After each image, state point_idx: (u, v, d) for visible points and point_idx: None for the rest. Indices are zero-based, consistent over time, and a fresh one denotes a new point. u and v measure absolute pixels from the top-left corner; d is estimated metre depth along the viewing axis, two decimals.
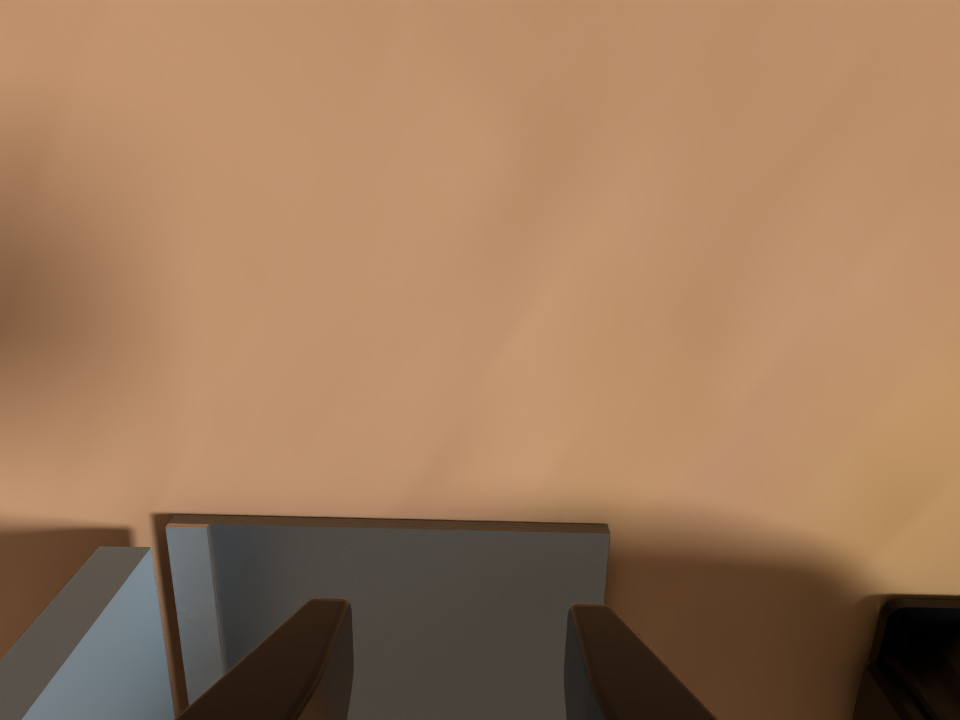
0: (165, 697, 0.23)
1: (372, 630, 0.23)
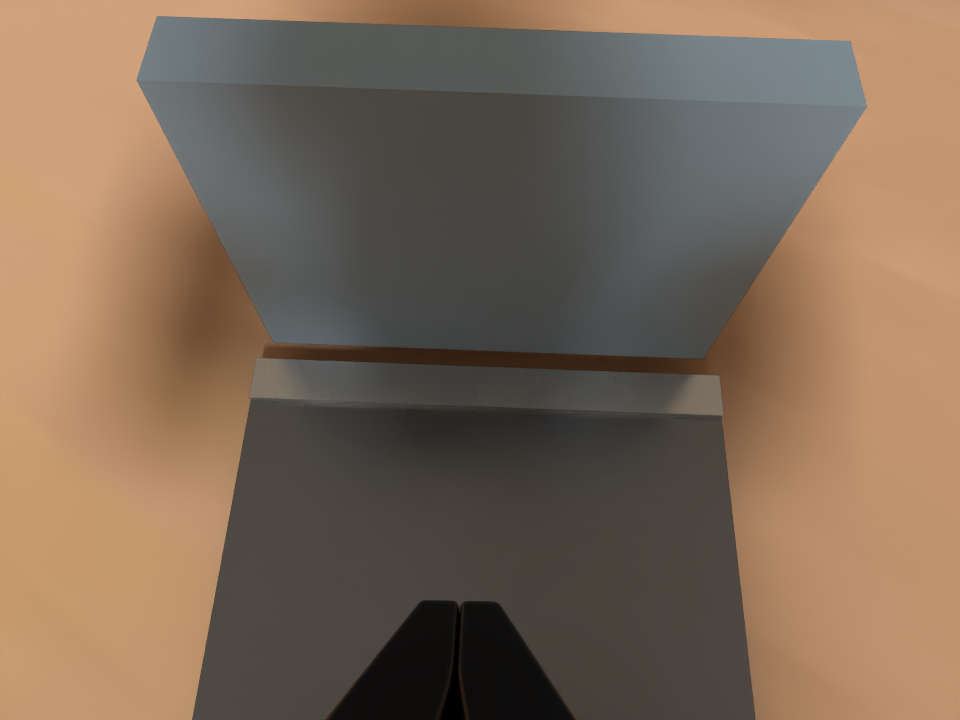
0: (521, 345, 0.20)
1: (594, 590, 0.19)
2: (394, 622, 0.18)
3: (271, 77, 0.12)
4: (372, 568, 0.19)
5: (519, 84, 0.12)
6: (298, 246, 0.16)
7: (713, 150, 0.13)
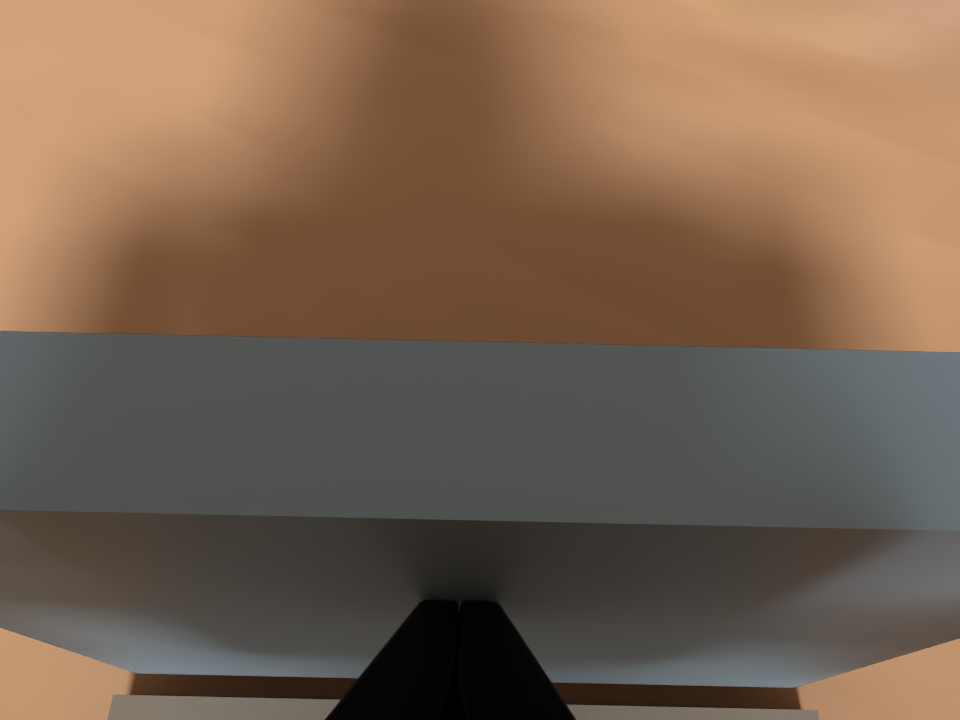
0: None
1: None
2: None
3: None
4: None
5: (500, 494, 0.05)
6: (123, 627, 0.09)
7: (908, 572, 0.06)
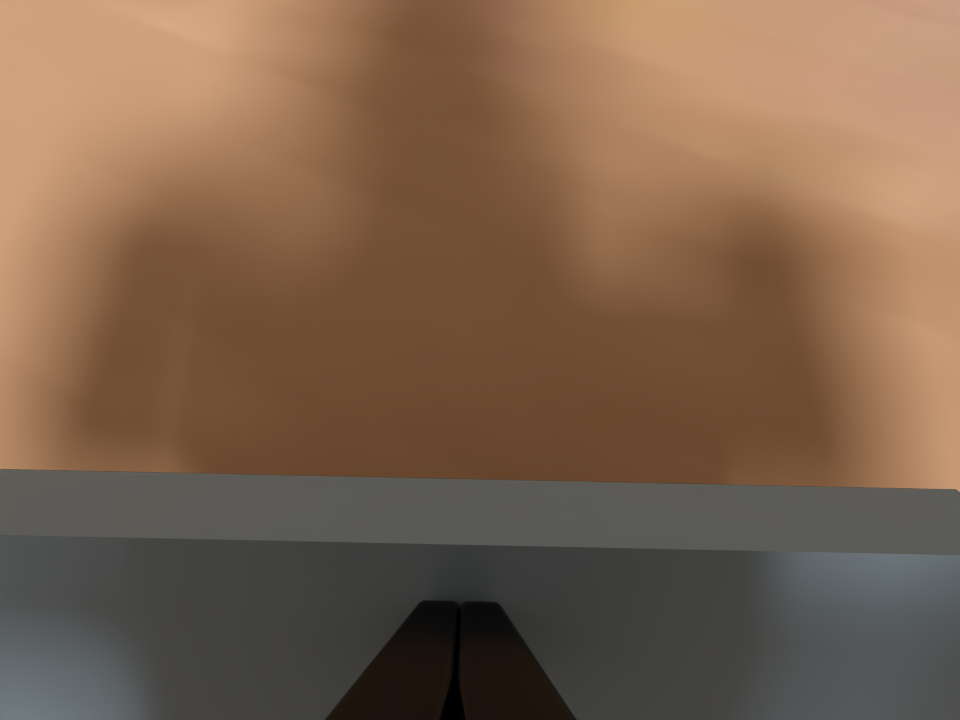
0: None
1: None
2: None
3: (100, 528, 0.08)
4: None
5: (490, 534, 0.08)
6: None
7: (814, 646, 0.08)
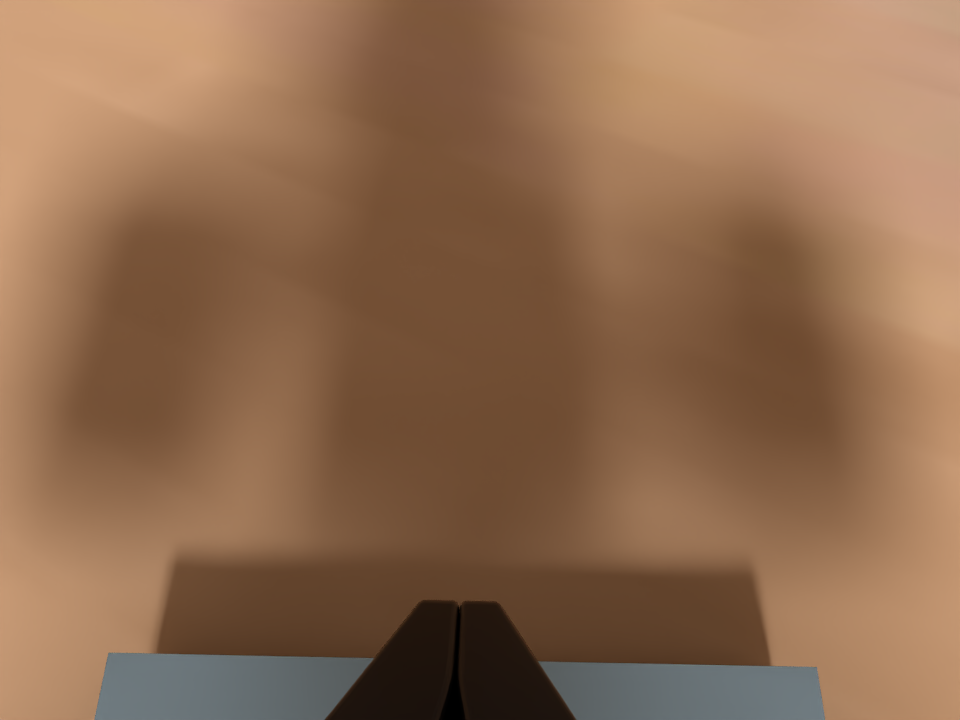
0: None
1: None
2: None
3: None
4: None
5: None
6: None
7: None
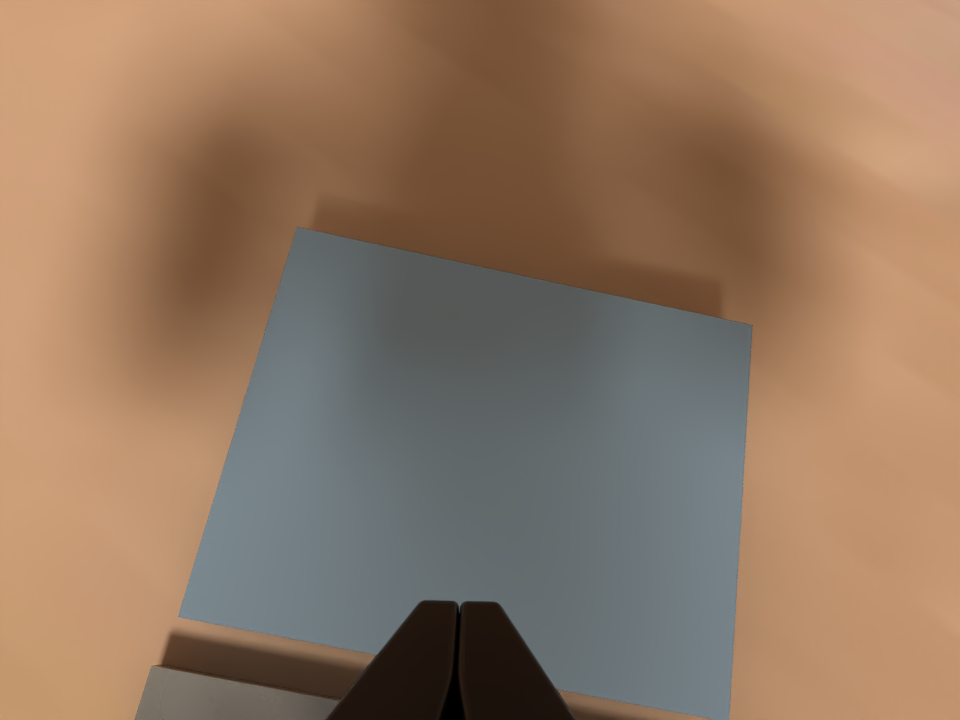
0: None
1: None
2: None
3: None
4: None
5: None
6: (316, 415, 0.17)
7: (667, 348, 0.19)
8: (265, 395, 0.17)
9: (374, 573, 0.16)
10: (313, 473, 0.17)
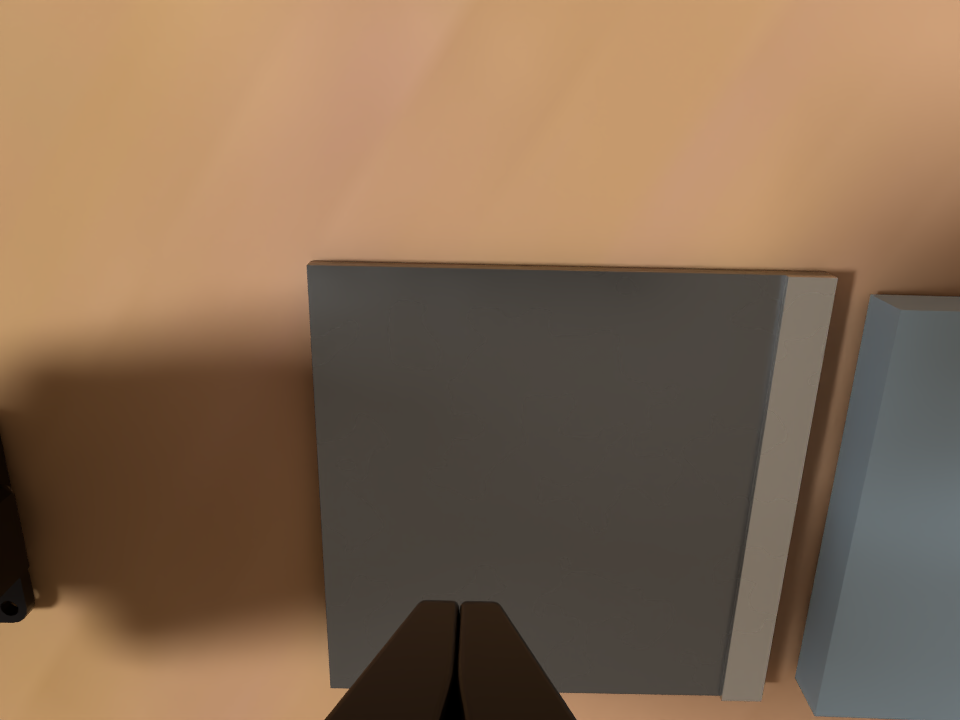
0: (862, 564, 0.20)
1: (571, 591, 0.21)
2: (546, 435, 0.20)
3: None
4: (595, 413, 0.20)
5: None
6: None
7: None
8: None
9: (934, 459, 0.19)
10: None
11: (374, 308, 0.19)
